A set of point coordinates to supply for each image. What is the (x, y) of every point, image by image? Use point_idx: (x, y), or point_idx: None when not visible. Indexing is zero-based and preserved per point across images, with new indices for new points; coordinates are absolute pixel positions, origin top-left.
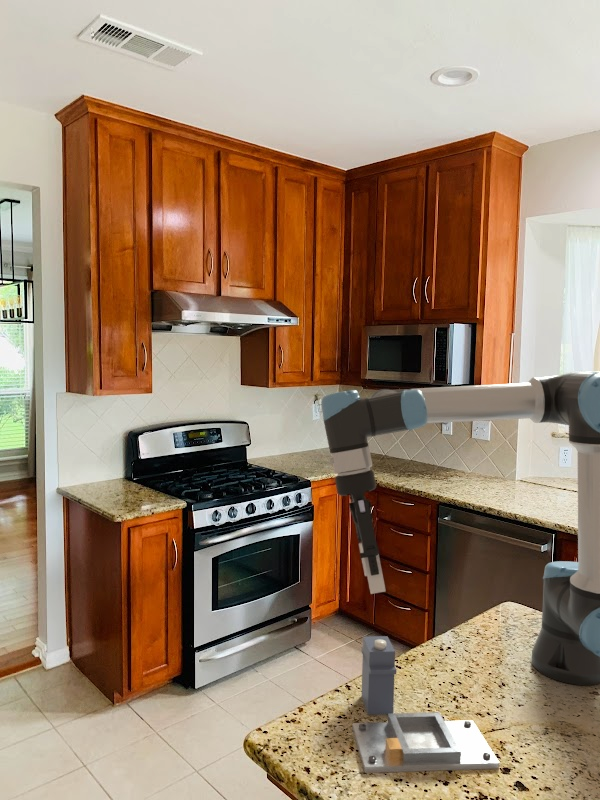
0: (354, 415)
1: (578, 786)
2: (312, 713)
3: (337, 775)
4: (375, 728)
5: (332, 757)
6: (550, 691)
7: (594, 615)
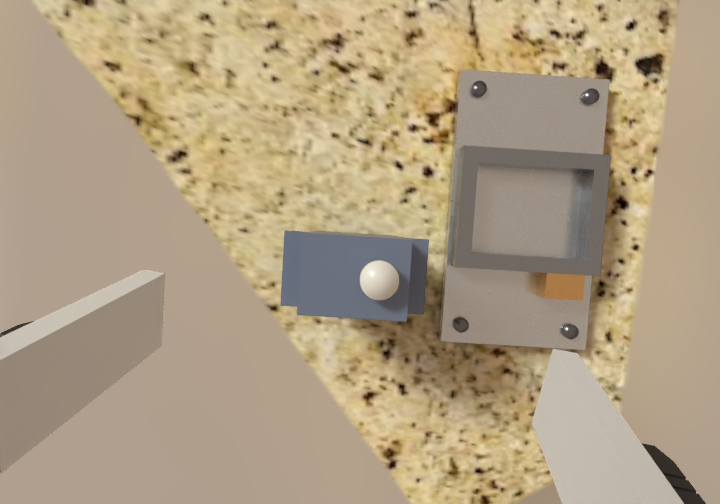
0: None
1: None
2: (368, 409)
3: None
4: (466, 297)
5: (521, 395)
6: None
7: None
